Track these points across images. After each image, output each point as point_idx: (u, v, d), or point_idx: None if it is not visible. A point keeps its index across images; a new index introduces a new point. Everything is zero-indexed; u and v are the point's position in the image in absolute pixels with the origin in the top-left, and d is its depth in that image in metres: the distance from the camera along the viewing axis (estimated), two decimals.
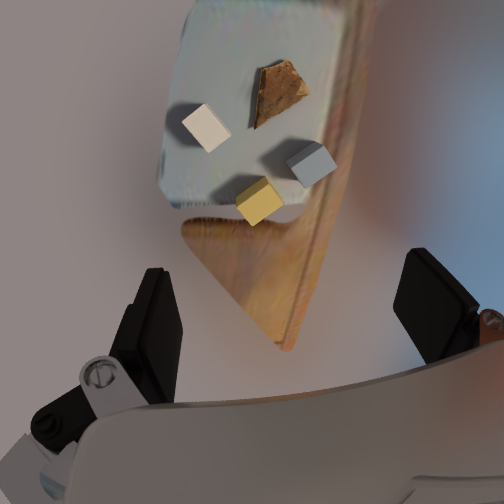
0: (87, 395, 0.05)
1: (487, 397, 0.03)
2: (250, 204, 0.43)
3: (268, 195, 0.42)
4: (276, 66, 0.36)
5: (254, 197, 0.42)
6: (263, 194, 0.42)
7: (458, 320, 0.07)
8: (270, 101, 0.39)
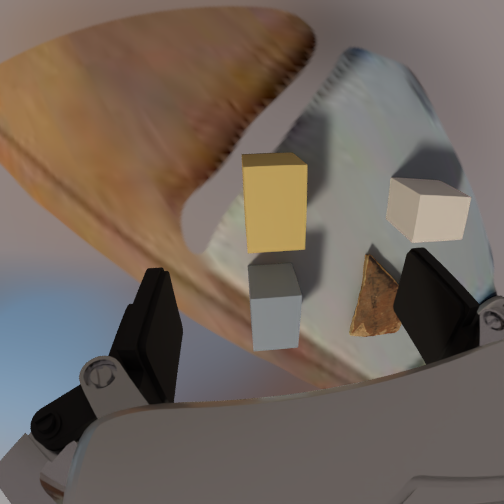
0: (87, 395, 0.05)
1: (487, 397, 0.03)
2: (292, 194, 0.18)
3: (284, 237, 0.20)
4: None
5: (301, 210, 0.19)
6: (293, 229, 0.19)
7: (458, 320, 0.07)
8: (380, 293, 0.28)
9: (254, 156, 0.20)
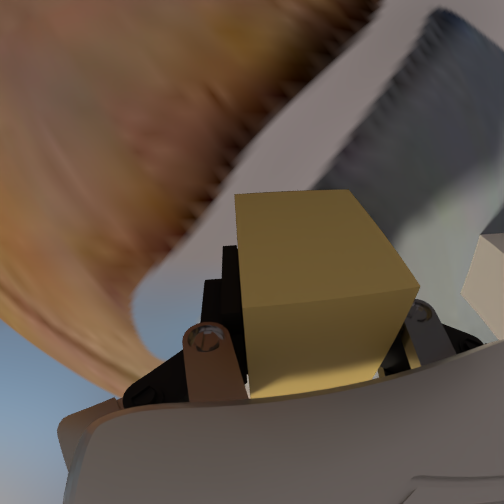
0: (185, 354, 0.06)
1: (488, 397, 0.03)
2: (365, 344, 0.07)
3: None
4: None
5: (373, 362, 0.08)
6: None
7: None
8: None
9: (267, 211, 0.08)
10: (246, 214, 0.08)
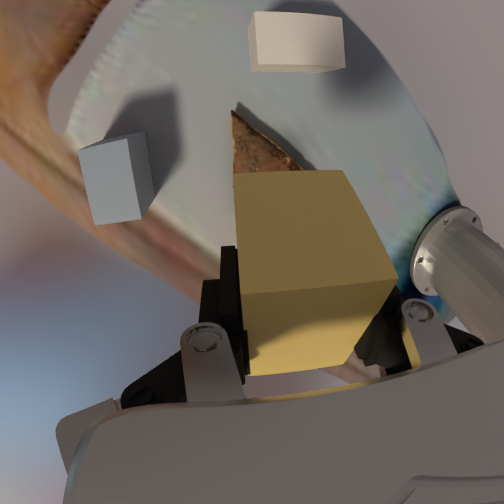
0: (183, 355, 0.06)
1: (487, 397, 0.03)
2: (348, 321, 0.08)
3: (313, 360, 0.10)
4: None
5: (356, 334, 0.09)
6: (332, 352, 0.10)
7: None
8: (262, 164, 0.23)
9: (263, 194, 0.09)
10: (244, 197, 0.09)
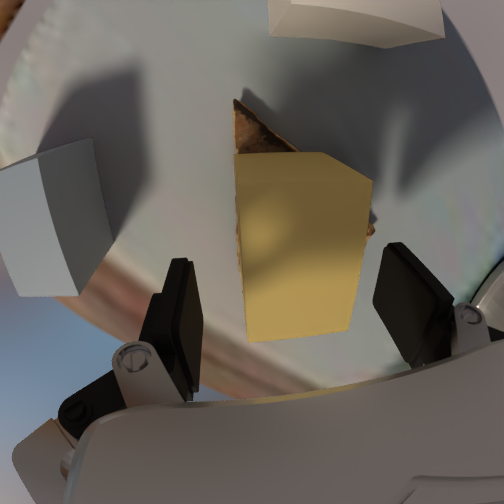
0: (118, 378, 0.06)
1: (487, 397, 0.03)
2: (340, 241, 0.09)
3: (315, 315, 0.10)
4: None
5: (352, 269, 0.09)
6: (333, 302, 0.10)
7: (432, 313, 0.07)
8: None
9: (258, 158, 0.11)
10: (242, 159, 0.11)
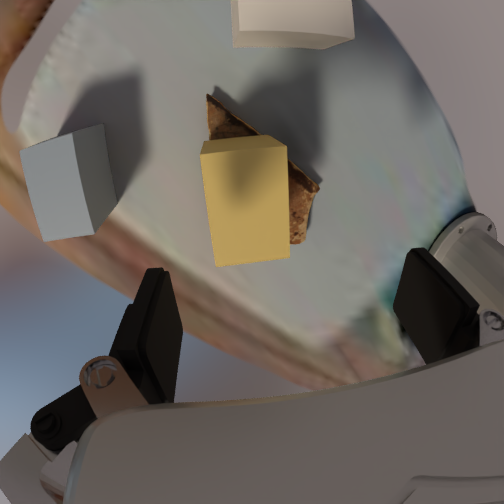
0: (87, 395, 0.05)
1: (487, 397, 0.03)
2: (269, 187, 0.14)
3: (261, 243, 0.15)
4: (305, 215, 0.20)
5: (282, 207, 0.14)
6: (273, 233, 0.15)
7: (458, 320, 0.07)
8: None
9: (219, 141, 0.16)
10: (208, 143, 0.16)
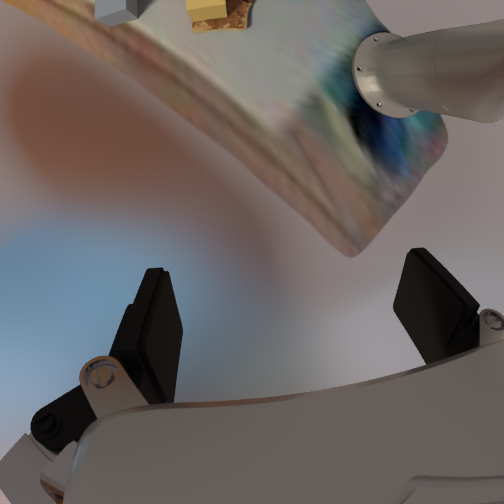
0: (87, 395, 0.05)
1: (488, 397, 0.03)
2: None
3: None
4: (245, 13, 0.25)
5: None
6: None
7: (458, 320, 0.07)
8: None
9: None
10: None
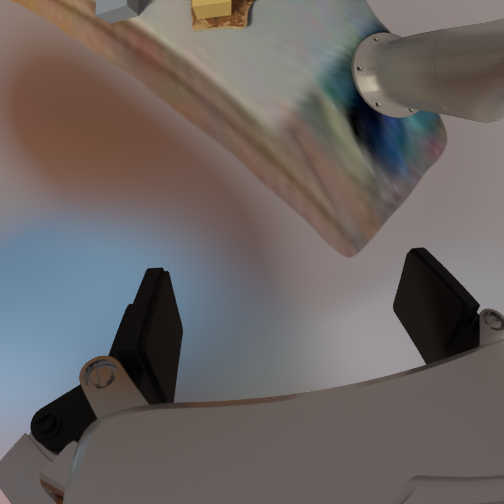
0: (87, 395, 0.05)
1: (487, 397, 0.03)
2: None
3: None
4: (245, 11, 0.25)
5: None
6: None
7: (458, 320, 0.07)
8: None
9: None
10: None
